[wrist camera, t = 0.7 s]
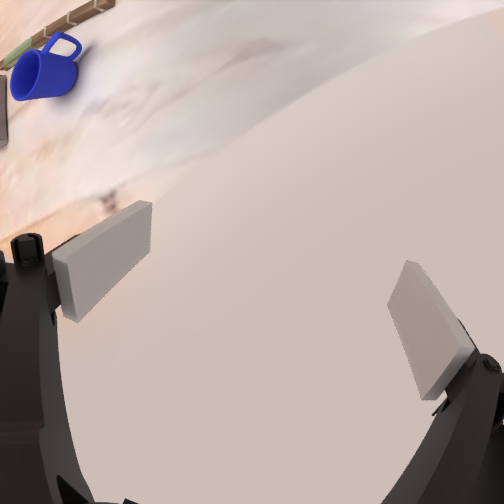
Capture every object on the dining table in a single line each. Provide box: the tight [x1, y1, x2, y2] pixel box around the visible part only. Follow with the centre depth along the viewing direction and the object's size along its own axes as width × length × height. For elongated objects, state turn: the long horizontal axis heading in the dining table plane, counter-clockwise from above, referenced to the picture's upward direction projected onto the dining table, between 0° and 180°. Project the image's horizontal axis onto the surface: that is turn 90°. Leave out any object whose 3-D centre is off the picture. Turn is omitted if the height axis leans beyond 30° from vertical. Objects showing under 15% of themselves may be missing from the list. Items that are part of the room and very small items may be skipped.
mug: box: [10, 32, 82, 101], centre depth 30 cm, size 8×12×10 cm
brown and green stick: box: [0, 0, 114, 70], centre depth 30 cm, size 2×30×3 cm, turn 95°
